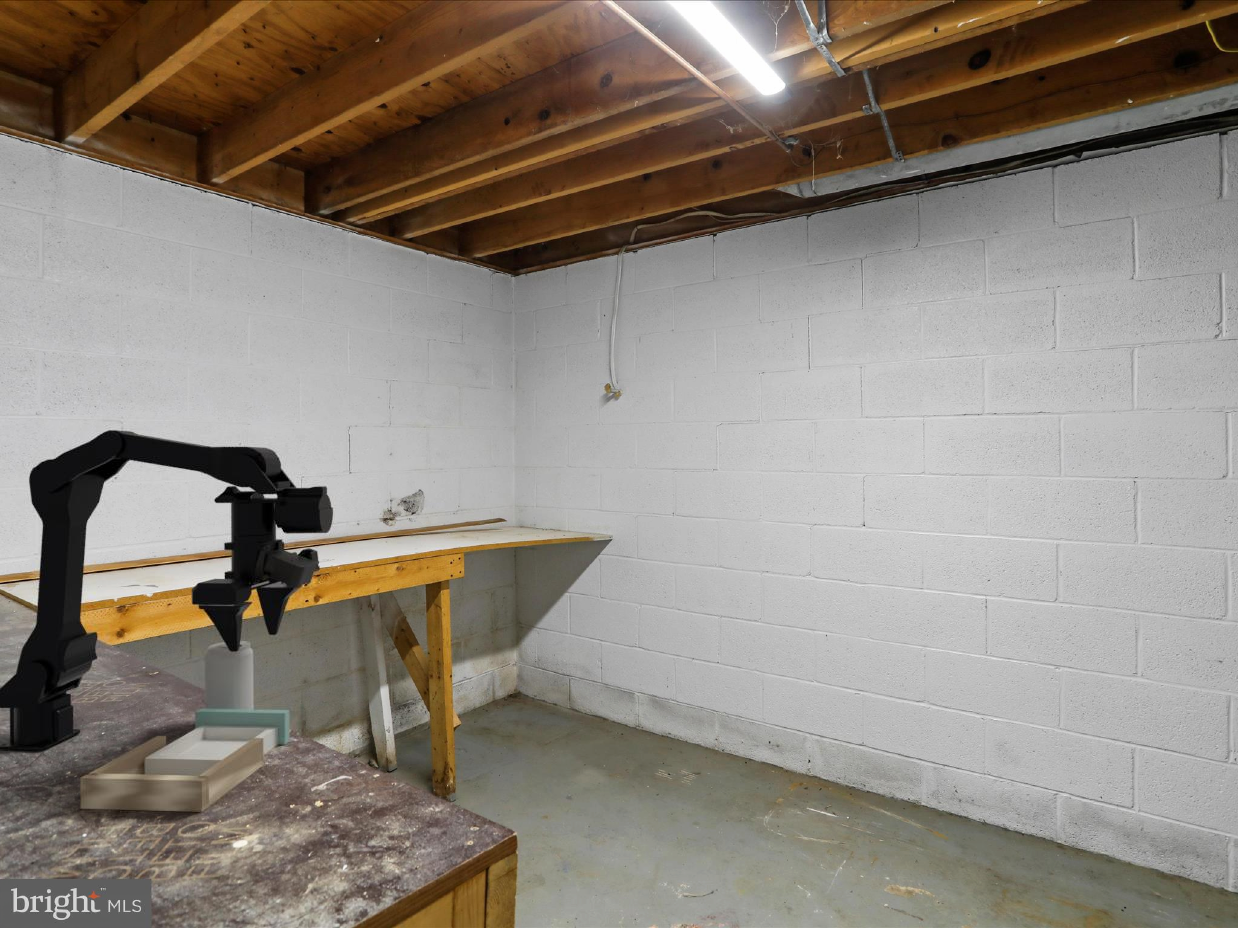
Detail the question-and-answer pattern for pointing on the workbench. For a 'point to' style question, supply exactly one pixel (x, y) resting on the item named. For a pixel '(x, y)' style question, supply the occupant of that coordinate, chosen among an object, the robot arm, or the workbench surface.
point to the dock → (165, 781)
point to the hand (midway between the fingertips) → (254, 642)
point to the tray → (218, 739)
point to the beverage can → (229, 677)
